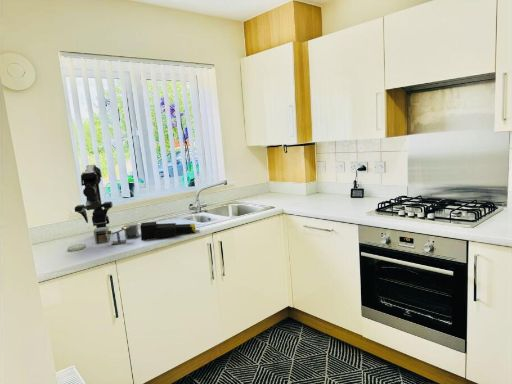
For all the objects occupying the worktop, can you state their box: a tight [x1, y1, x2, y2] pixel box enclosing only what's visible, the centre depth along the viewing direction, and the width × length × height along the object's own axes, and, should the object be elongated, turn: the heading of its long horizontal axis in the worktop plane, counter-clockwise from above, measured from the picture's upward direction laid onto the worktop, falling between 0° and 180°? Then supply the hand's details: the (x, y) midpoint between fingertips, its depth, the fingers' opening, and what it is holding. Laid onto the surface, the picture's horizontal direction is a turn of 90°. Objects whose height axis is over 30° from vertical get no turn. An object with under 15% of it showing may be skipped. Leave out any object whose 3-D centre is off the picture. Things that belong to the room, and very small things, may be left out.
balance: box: [105, 226, 130, 246], centre depth 201 cm, size 5×13×8 cm, turn 104°
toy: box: [139, 221, 196, 241], centre depth 209 cm, size 16×9×30 cm
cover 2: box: [123, 222, 140, 240], centre depth 213 cm, size 7×7×7 cm
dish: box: [66, 243, 87, 252], centre depth 197 cm, size 9×9×1 cm
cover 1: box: [93, 226, 111, 244], centre depth 208 cm, size 7×7×7 cm
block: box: [98, 233, 107, 243], centre depth 209 cm, size 4×4×4 cm
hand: (96, 221), depth 203 cm, fingers open, 9 cm apart
